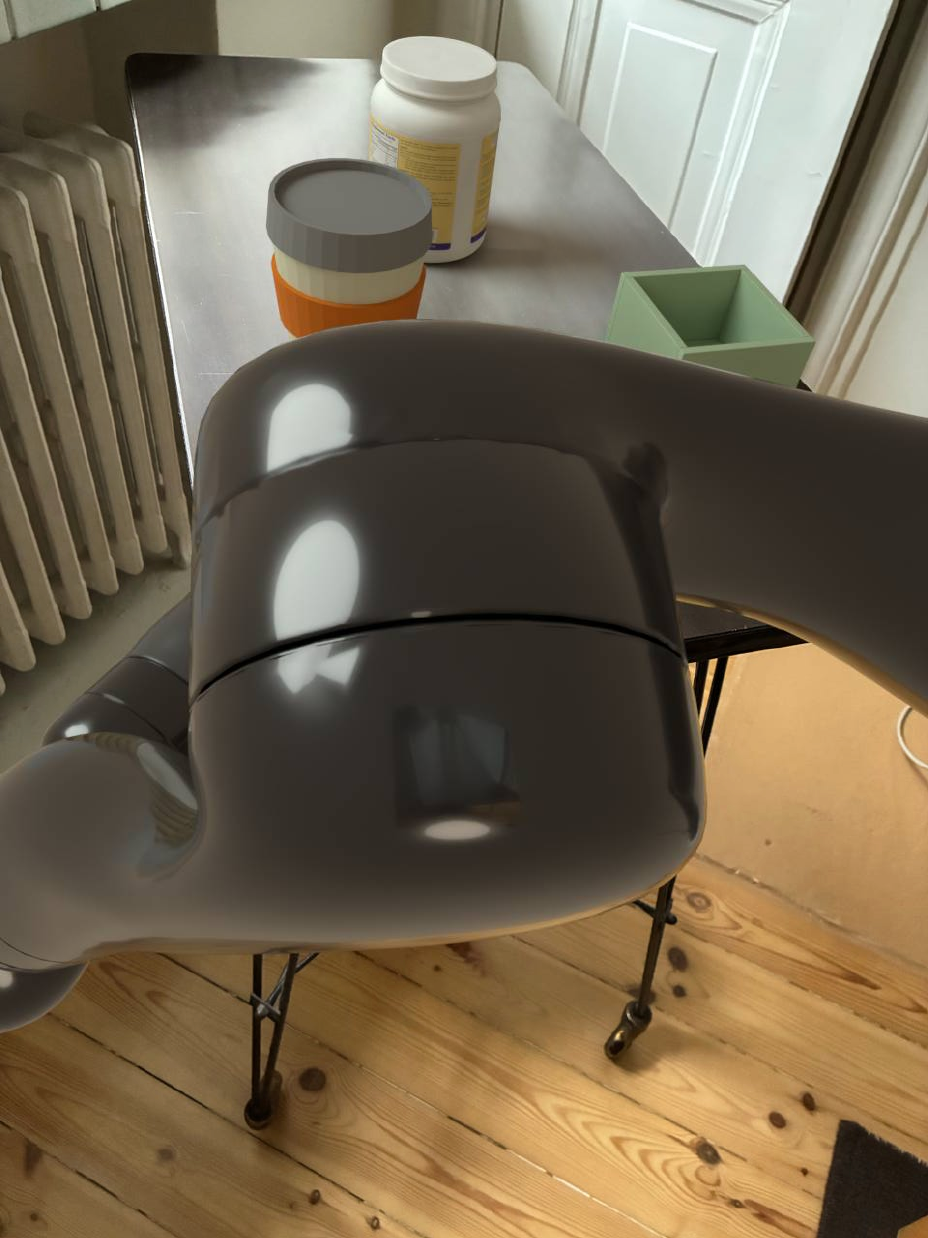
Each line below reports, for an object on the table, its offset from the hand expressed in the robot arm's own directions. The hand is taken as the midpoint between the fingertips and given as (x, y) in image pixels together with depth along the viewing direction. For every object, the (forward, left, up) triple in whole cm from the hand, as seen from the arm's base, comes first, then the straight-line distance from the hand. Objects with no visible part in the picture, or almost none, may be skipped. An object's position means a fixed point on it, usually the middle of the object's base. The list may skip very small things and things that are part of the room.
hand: (401, 486), depth 61 cm
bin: (-9, -36, -9) cm, 38 cm away
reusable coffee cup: (+16, -20, -9) cm, 27 cm away
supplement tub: (+22, -44, -9) cm, 50 cm away
